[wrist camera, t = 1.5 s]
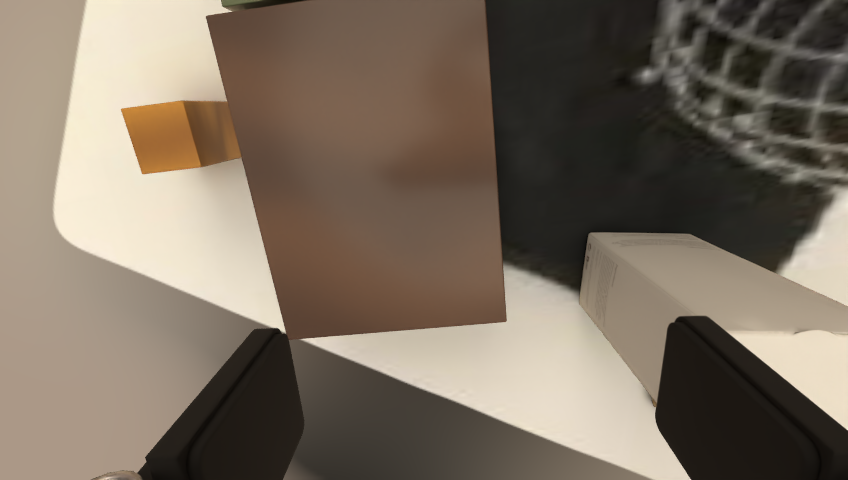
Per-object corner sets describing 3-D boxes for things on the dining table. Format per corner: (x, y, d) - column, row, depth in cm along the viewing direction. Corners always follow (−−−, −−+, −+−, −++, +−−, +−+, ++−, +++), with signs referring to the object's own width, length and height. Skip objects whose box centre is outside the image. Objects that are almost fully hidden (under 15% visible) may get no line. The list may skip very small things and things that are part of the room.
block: (181, 108, 30) (120, 108, 25) (232, 101, 30) (182, 100, 24) (196, 162, 32) (142, 174, 26) (245, 156, 31) (201, 167, 26)
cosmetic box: (575, 302, 34) (679, 454, 19) (586, 225, 32) (712, 328, 17) (679, 305, 33) (867, 463, 19) (697, 228, 31) (924, 336, 17)
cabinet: (265, 38, 29) (205, 15, 21) (473, 8, 27) (483, -27, 20) (320, 291, 35) (287, 340, 27) (493, 275, 33) (506, 322, 26)
